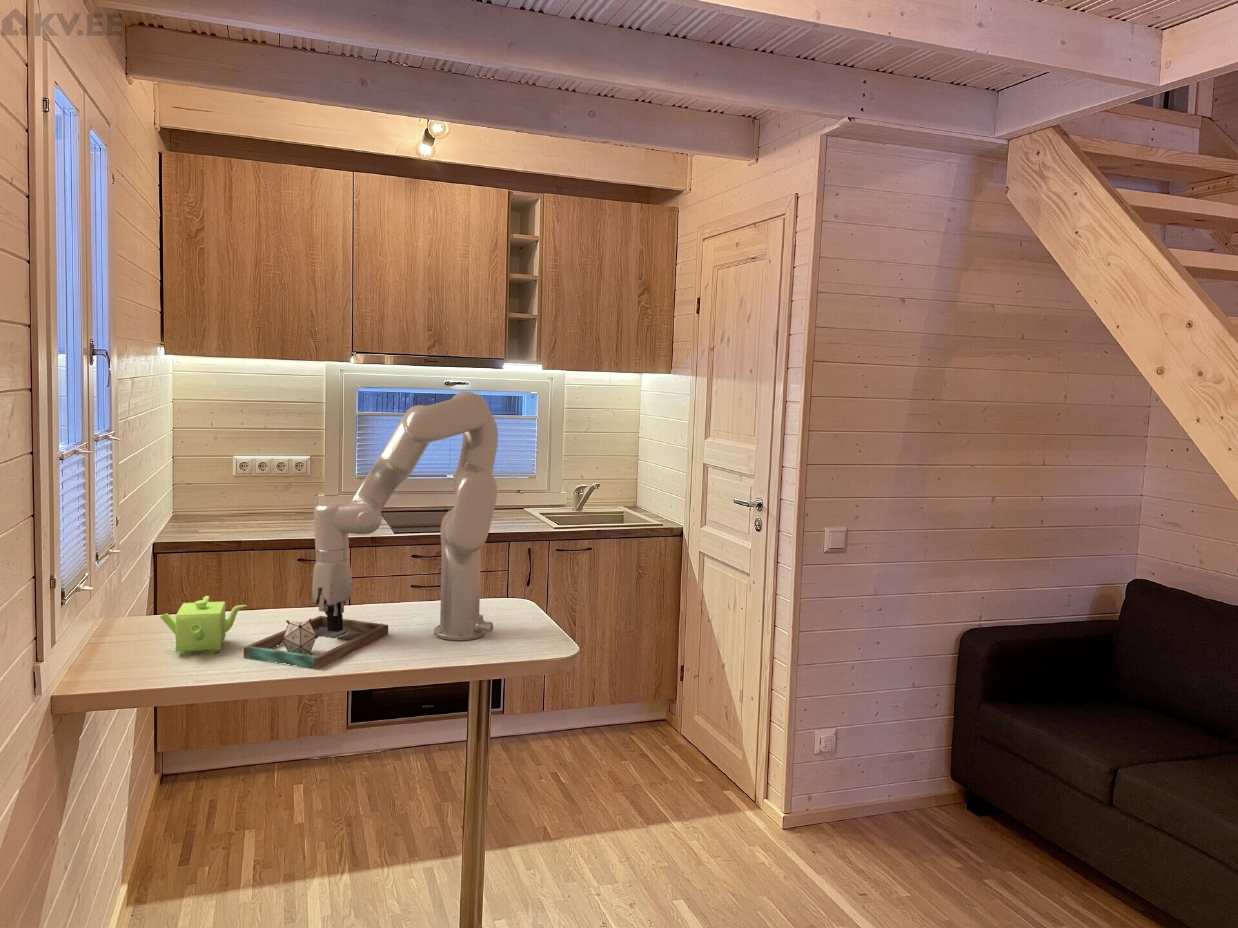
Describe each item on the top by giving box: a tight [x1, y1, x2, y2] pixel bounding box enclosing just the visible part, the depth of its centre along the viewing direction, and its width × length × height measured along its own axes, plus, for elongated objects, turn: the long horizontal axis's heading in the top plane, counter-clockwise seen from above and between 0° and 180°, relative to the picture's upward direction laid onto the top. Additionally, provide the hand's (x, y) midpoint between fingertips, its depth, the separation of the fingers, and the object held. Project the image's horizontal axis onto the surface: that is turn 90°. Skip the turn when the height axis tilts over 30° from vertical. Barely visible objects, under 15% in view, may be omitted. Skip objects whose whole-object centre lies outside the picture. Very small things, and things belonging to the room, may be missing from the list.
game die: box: [279, 618, 321, 655], centre depth 205 cm, size 9×8×10 cm
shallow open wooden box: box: [243, 615, 389, 670], centre depth 213 cm, size 19×28×2 cm
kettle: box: [159, 595, 247, 656], centre depth 207 cm, size 15×14×11 cm
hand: (335, 630), depth 217 cm, fingers closed
